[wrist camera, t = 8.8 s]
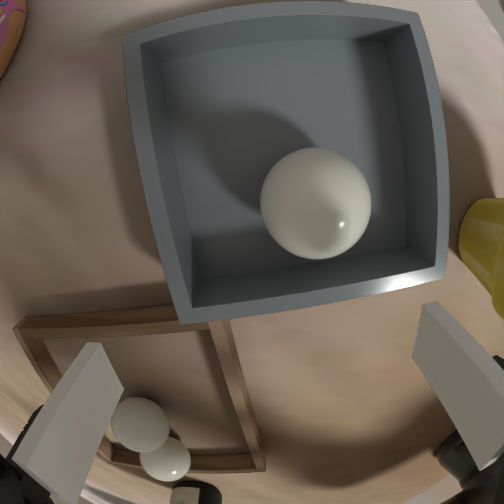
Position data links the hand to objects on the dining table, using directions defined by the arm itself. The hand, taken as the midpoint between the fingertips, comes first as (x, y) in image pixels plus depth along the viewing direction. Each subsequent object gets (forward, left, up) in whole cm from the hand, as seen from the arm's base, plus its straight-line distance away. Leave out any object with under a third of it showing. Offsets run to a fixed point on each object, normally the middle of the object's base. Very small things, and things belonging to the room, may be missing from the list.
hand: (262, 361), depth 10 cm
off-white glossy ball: (+4, -4, -10) cm, 11 cm away
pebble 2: (-21, +14, -11) cm, 28 cm away
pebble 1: (-14, +14, -11) cm, 23 cm away
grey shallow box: (+7, -4, -11) cm, 13 cm away
